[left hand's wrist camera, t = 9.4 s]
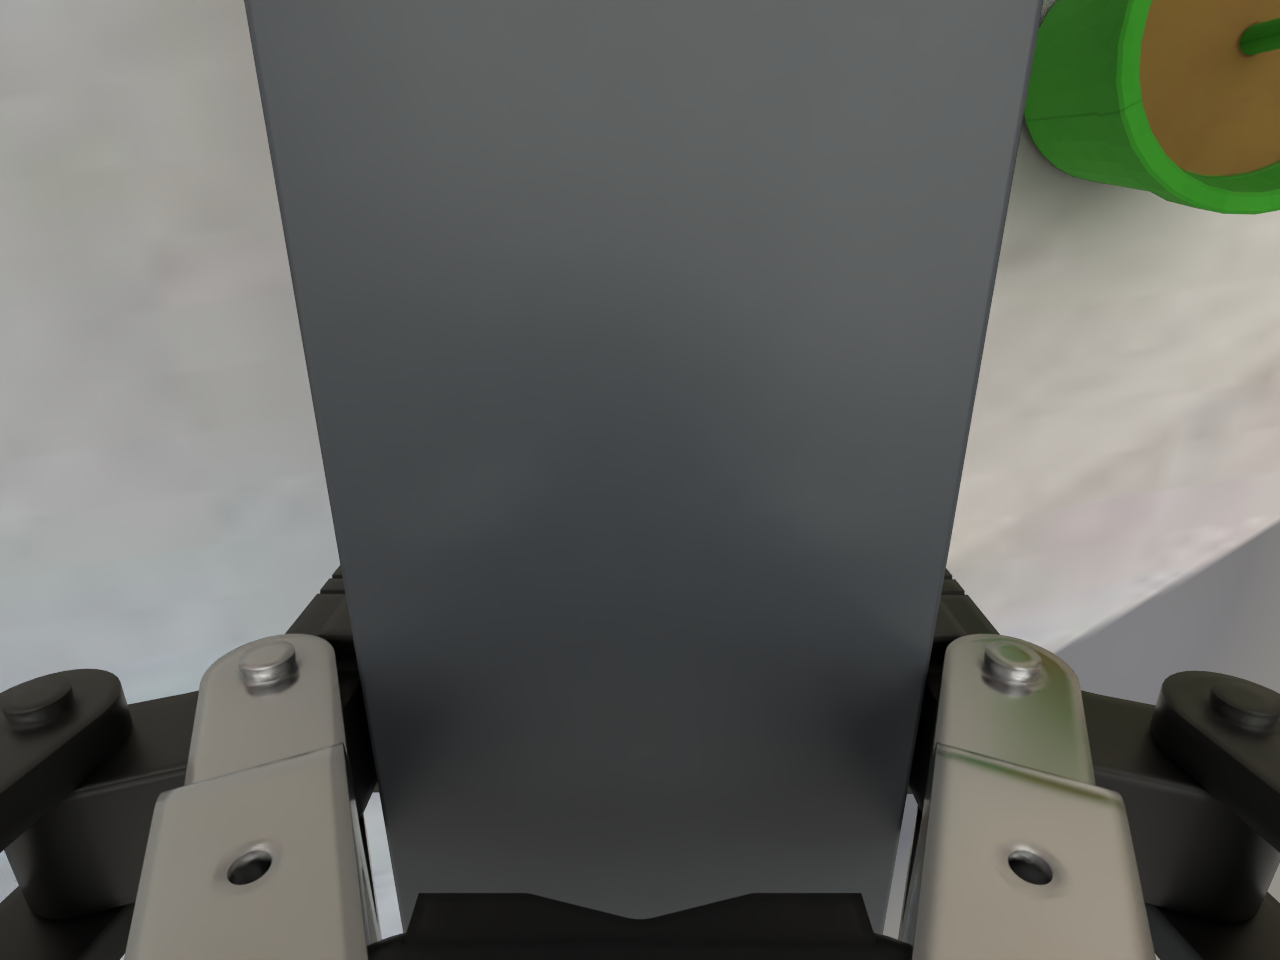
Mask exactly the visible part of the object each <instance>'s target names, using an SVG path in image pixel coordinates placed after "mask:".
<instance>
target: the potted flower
mask: <svg viewBox="0 0 1280 960" xmlns="http://www.w3.org/2000/svg"><path fill="white" fill-rule="evenodd" d="M1024 116H1025V122H1026V125H1027V127H1028V130H1029V132H1030V135H1031V137H1032V140H1033V142H1034V143H1035V145H1036V146H1037V147H1038V149H1039V150H1040V152H1041V153H1042V155H1043V156H1044V157H1045V158H1046V159H1047V160H1048V161H1050V162H1051V163H1052V164H1053V165H1054V166H1055V167H1056V168H1058V169H1060V170H1061V171H1063V172H1065V173H1067V174H1069V175H1071V176H1073V177H1077V178H1081V179H1085V180H1089V181H1094V182H1099V183H1105V184H1111V185H1117V186H1122V187H1128V188H1134V189H1140V190H1145V191H1150V192H1152V193H1154V194H1156V195H1158V196H1159V197H1161V198H1163V199H1165V200H1167V201H1170V202H1174V203H1178V204H1182V205H1186V206H1190V207H1194V208H1199V209H1204V210H1209V211H1214V212H1219V213H1224V214H1260V213H1266V212H1271V211H1277V210H1280V0H1057V1H1056V3H1055V4H1054V5H1053V6H1052V8H1051V9H1050V10H1049V12H1048V13H1047V14H1046V16H1045V18H1044V20H1043V22H1042V23H1041V25H1040V27H1039V29H1038V34H1037V40H1036V46H1035V52H1034V57H1033V63H1032V69H1031V75H1030V81H1029V86H1028V92H1027V98H1026V104H1025V110H1024Z"/></svg>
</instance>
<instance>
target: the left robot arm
mask: <svg viewBox="0 0 1280 960" xmlns="http://www.w3.org/2000/svg"><path fill="white" fill-rule="evenodd" d="M372 792H379V787H378V781H377V775H376V769H375V763H374V758H373V752H372V746H371V740H370V734H369V728H368V722H367V717H366V711H365V705H364V699H363V693H362V687H361V681H360V675H359V670H358V664H357V658H356V652H355V646H354V640H353V634H352V629H351V623H350V617H349V611H348V605H347V599H346V593H345V588H344V582H343V576H342V570H341V565H340V566H339V567H338V569H337V570H336V571H335V572H334V574H333V575H332V579H329V580H328V581H327V582H326V584H325V585H324V586H323V587H322V589H321V590H320V594H317V595H316V596H315V597H314V599H313V600H312V601H311V602H310V604H309V605H308V606H307V607H306V609H305V610H304V611H303V612H302V614H301V615H300V616H299V617H298V618H297V620H296V621H295V622H294V623H293V625H292V626H291V627H290V628H289V630H288V631H287V632H286V633H285V634H284V635H277V636H271V637H267V638H263V639H259V640H256V641H253V642H250V643H247V644H245V645H243V646H240V647H238V648H236V649H234V650H232V651H230V652H228V653H227V654H225V655H224V656H222V657H221V658H219V659H218V660H217V661H216V662H214V663H213V664H212V665H211V666H210V667H209V668H208V670H207V671H206V672H205V674H204V675H203V677H202V680H201V683H200V688H199V691H195V692H191V693H186V694H181V695H176V696H170V697H165V698H160V699H155V700H150V701H144V702H139V703H134V704H129V705H127V702H126V699H125V695H124V692H123V689H122V686H121V683H120V681H119V679H118V677H117V676H115V675H114V674H113V673H110V672H107V671H104V670H98V669H76V670H69V671H62V672H58V673H53V674H49V675H46V676H42V677H39V678H35V679H33V680H30V681H27V682H24V683H22V684H19V685H17V686H15V687H12V688H10V689H8V690H6V691H4V692H2V693H0V853H1V852H2V851H3V850H4V851H5V853H6V856H7V858H8V860H9V863H10V865H11V867H12V870H13V872H14V874H15V877H16V879H17V881H18V884H19V886H18V887H17V888H16V889H15V890H14V891H13V892H12V893H11V894H10V895H9V896H8V897H6V898H5V899H4V900H3V901H2V902H1V903H0V960H120V959H121V957H122V956H123V955H124V954H125V957H124V960H1156V957H1155V954H1156V955H1157V956H1158V957H1159V959H1160V960H1280V903H1279V902H1278V901H1277V900H1276V899H1275V898H1274V897H1272V896H1271V895H1270V894H1269V893H1268V892H1267V890H1268V888H1269V886H1270V884H1271V881H1272V879H1273V877H1274V874H1275V872H1276V870H1277V867H1278V865H1279V863H1280V694H1279V693H1277V692H1275V691H1273V690H1271V689H1268V688H1266V687H1264V686H1261V685H1259V684H1256V683H1253V682H1250V681H1247V680H1244V679H1241V678H1237V677H1234V676H1230V675H1225V674H1220V673H1214V672H1206V671H1185V672H1179V673H1176V674H1173V675H1171V676H1169V677H1168V678H1166V679H1165V681H1164V683H1163V684H1162V688H1161V691H1160V694H1159V697H1158V700H1157V703H1156V706H1155V705H1150V704H1145V703H1140V702H1134V701H1129V700H1124V699H1119V698H1113V697H1108V696H1103V695H1098V694H1094V693H1090V692H1085V691H1082V690H1081V689H1080V683H1079V680H1078V677H1077V675H1076V674H1075V672H1074V671H1073V670H1072V668H1071V667H1070V666H1069V665H1068V664H1067V663H1065V662H1064V661H1063V660H1062V659H1061V658H1059V657H1058V656H1056V655H1055V654H1053V653H1052V652H1050V651H1048V650H1046V649H1044V648H1042V647H1040V646H1037V645H1035V644H1033V643H1030V642H1027V641H1024V640H1021V639H1017V638H1013V637H1009V636H1003V635H1000V634H999V633H998V632H997V630H996V629H995V628H994V627H993V625H992V624H991V623H990V622H989V621H988V619H987V618H986V617H985V616H984V614H983V613H982V612H981V611H980V609H979V608H978V607H977V606H976V605H975V603H974V602H973V601H972V600H971V598H970V597H969V596H968V595H965V594H964V590H963V589H962V587H961V586H960V585H959V584H958V582H957V581H956V580H955V579H952V575H951V574H950V573H949V571H948V570H947V569H945V575H944V581H943V586H942V592H941V598H940V604H939V610H938V615H937V621H936V627H935V633H934V639H933V645H932V650H931V656H930V662H929V668H928V674H927V679H926V685H925V691H924V697H923V703H922V708H921V714H920V720H919V726H918V732H917V738H916V743H915V749H914V755H913V761H912V767H911V772H910V778H909V784H908V790H907V794H913V795H914V797H915V799H916V802H917V804H918V807H917V812H916V818H915V823H914V829H913V836H912V843H911V850H910V857H909V865H908V872H907V879H906V886H905V893H904V901H903V908H902V915H901V923H900V929H899V937H898V940H897V939H894V938H891V937H888V936H885V935H881V934H877V933H874V932H873V929H872V926H871V922H870V919H869V916H868V913H867V910H866V907H865V903H864V900H863V897H862V894H861V893H750V894H746V895H742V896H738V897H734V898H730V899H726V900H722V901H718V902H714V903H710V904H706V905H702V906H698V907H694V908H690V909H686V910H682V911H678V912H674V913H670V914H666V915H662V916H658V917H654V918H648V919H632V918H626V917H622V916H618V915H614V914H610V913H606V912H602V911H598V910H594V909H590V908H586V907H582V906H578V905H574V904H570V903H566V902H562V901H558V900H554V899H550V898H546V897H542V896H538V895H534V894H530V893H419V894H418V897H417V900H416V903H415V907H414V910H413V913H412V916H411V919H410V922H409V926H408V929H407V932H406V933H403V934H399V935H395V936H392V937H389V938H386V939H383V940H382V937H381V930H380V923H379V915H378V908H377V901H376V894H375V887H374V879H373V872H372V865H371V858H370V850H369V843H368V836H367V829H366V824H365V818H364V810H365V808H366V806H367V804H368V801H369V799H370V797H371V795H372Z"/></svg>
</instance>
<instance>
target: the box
mask: <svg viewBox="0 0 1280 960" xmlns="http://www.w3.org/2000/svg"><path fill="white" fill-rule="evenodd" d="M244 2H245V8H246V13H247V19H248V25H249V31H250V37H251V43H252V49H253V54H254V60H255V66H256V72H257V78H258V84H259V90H260V95H261V101H262V107H263V113H264V119H265V125H266V131H267V136H268V142H269V148H270V154H271V160H272V166H273V172H274V177H275V183H276V189H277V195H278V201H279V207H280V213H281V218H282V224H283V230H284V236H285V242H286V248H287V254H288V260H289V265H290V271H291V277H292V283H293V289H294V295H295V301H296V306H297V312H298V318H299V324H300V330H301V336H302V342H303V347H304V353H305V359H306V365H307V371H308V377H309V383H310V388H311V394H312V400H313V406H314V412H315V418H316V424H317V429H318V435H319V441H320V447H321V453H322V459H323V465H324V470H325V476H326V482H327V488H328V494H329V500H330V506H331V511H332V517H333V523H334V529H335V535H336V541H337V547H338V552H339V558H340V564H341V570H342V576H343V582H344V588H345V593H346V599H347V605H348V611H349V617H350V623H351V629H352V634H353V640H354V646H355V652H356V658H357V664H358V670H359V675H360V681H361V687H362V693H363V699H364V705H365V711H366V717H367V722H368V728H369V734H370V740H371V746H372V752H373V758H374V763H375V769H376V775H377V781H378V787H379V793H380V799H381V804H382V810H383V816H384V822H385V828H386V834H387V840H388V845H389V851H390V857H391V863H392V869H393V875H394V881H395V886H396V892H397V898H398V904H399V910H400V916H401V922H402V927H403V933H406V932H407V929H408V926H409V922H410V919H411V916H412V913H413V910H414V907H415V903H416V900H417V897H418V894H419V893H530V894H534V895H538V896H542V897H546V898H550V899H554V900H558V901H562V902H566V903H570V904H574V905H578V906H582V907H586V908H590V909H594V910H598V911H602V912H606V913H610V914H614V915H618V916H622V917H626V918H632V919H648V918H654V917H658V916H662V915H666V914H670V913H674V912H678V911H682V910H686V909H690V908H694V907H698V906H702V905H706V904H710V903H714V902H718V901H722V900H726V899H730V898H734V897H738V896H742V895H746V894H750V893H861V894H862V897H863V900H864V903H865V907H866V910H867V913H868V916H869V919H870V922H871V926H872V929H873V932H874V933H877V934H881V935H883V929H884V924H885V918H886V912H887V906H888V900H889V895H890V889H891V883H892V877H893V871H894V865H895V860H896V854H897V848H898V842H899V836H900V831H901V825H902V819H903V813H904V807H905V801H906V796H907V790H908V784H909V778H910V772H911V767H912V761H913V755H914V749H915V743H916V738H917V732H918V726H919V720H920V714H921V708H922V703H923V697H924V691H925V685H926V679H927V674H928V668H929V662H930V656H931V650H932V645H933V639H934V633H935V627H936V621H937V615H938V610H939V604H940V598H941V592H942V586H943V581H944V575H945V569H946V563H947V557H948V552H949V546H950V540H951V534H952V528H953V522H954V517H955V511H956V505H957V499H958V493H959V488H960V482H961V476H962V470H963V464H964V459H965V453H966V447H967V441H968V435H969V429H970V424H971V418H972V412H973V406H974V400H975V395H976V389H977V383H978V377H979V371H980V365H981V360H982V354H983V348H984V342H985V336H986V331H987V325H988V319H989V313H990V307H991V302H992V296H993V290H994V284H995V278H996V272H997V267H998V261H999V255H1000V249H1001V243H1002V238H1003V232H1004V226H1005V220H1006V214H1007V209H1008V203H1009V197H1010V191H1011V185H1012V179H1013V174H1014V168H1015V162H1016V156H1017V150H1018V145H1019V139H1020V133H1021V127H1022V121H1023V116H1024V110H1025V104H1026V98H1027V92H1028V86H1029V81H1030V75H1031V69H1032V63H1033V57H1034V52H1035V46H1036V40H1037V34H1038V28H1039V22H1040V17H1041V11H1042V5H1043V0H244Z"/></svg>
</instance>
